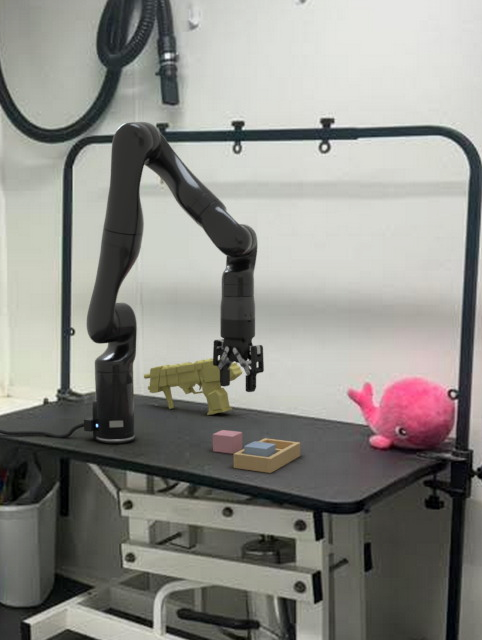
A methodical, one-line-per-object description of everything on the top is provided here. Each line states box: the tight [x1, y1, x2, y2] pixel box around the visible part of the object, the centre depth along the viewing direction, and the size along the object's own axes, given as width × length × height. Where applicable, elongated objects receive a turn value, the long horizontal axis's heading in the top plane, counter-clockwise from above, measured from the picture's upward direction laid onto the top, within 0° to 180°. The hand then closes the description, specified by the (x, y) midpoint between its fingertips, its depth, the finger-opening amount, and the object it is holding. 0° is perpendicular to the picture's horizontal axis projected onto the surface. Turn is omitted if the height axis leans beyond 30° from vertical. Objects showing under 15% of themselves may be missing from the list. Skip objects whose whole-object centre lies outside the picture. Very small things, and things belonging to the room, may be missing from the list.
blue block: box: [243, 440, 276, 457], centre depth 201 cm, size 5×5×4 cm
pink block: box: [212, 429, 243, 455], centre depth 215 cm, size 5×5×4 cm
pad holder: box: [232, 437, 301, 474], centre depth 204 cm, size 8×16×3 cm, turn 144°
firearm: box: [143, 357, 243, 416], centre depth 257 cm, size 4×30×15 cm, turn 51°
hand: (237, 388), depth 208 cm, fingers open, 8 cm apart
